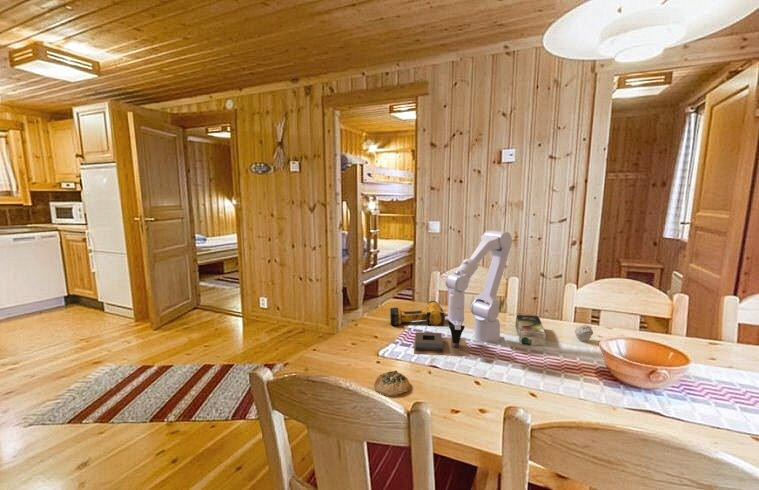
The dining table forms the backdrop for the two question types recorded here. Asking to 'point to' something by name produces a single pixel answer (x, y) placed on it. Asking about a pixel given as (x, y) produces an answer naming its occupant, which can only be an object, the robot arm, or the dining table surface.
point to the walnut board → (448, 349)
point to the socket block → (428, 341)
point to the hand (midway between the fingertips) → (455, 341)
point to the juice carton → (530, 330)
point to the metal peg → (454, 344)
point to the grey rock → (583, 332)
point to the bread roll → (392, 384)
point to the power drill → (419, 315)
